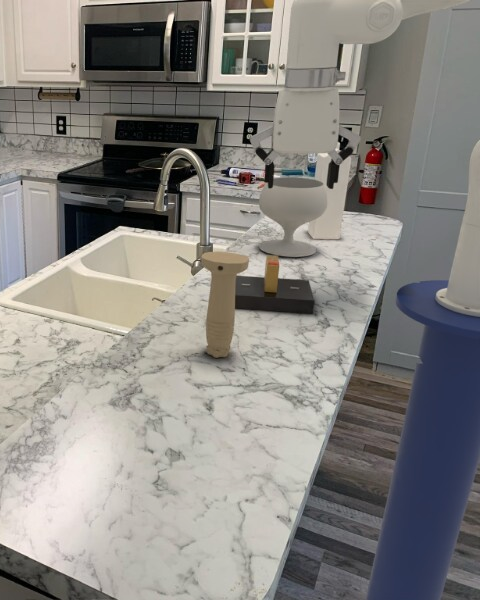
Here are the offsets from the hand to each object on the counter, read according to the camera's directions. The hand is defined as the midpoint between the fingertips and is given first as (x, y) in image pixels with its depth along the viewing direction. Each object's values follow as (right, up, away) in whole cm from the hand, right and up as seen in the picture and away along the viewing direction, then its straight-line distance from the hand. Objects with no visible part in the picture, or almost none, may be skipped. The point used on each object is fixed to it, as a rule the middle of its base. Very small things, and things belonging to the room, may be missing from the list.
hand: (299, 187), depth 104 cm
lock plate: (-4, -19, +5) cm, 20 cm away
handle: (-17, -27, -13) cm, 35 cm away
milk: (+21, -4, +42) cm, 47 cm away
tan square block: (-4, -17, +4) cm, 18 cm away
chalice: (+9, -8, +32) cm, 34 cm away
